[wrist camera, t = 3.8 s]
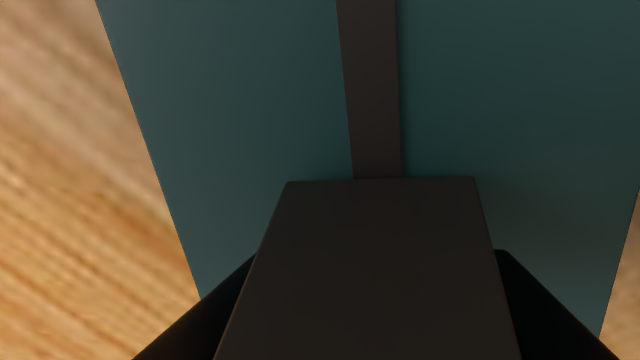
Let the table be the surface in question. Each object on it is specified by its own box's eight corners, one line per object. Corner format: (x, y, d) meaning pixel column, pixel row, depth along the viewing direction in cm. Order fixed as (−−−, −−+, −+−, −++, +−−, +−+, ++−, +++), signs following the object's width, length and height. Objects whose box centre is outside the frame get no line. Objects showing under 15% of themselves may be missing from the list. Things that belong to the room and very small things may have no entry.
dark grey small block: (474, 174, 7) (544, 432, 4) (468, 297, 8) (513, 571, 5) (284, 179, 8) (190, 406, 4) (306, 293, 9) (247, 537, 5)
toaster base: (633, -359, 7) (874, -626, 3) (537, 260, 13) (588, 392, 9) (145, -247, 8) (-38, -349, 5) (265, 258, 14) (222, 372, 11)
